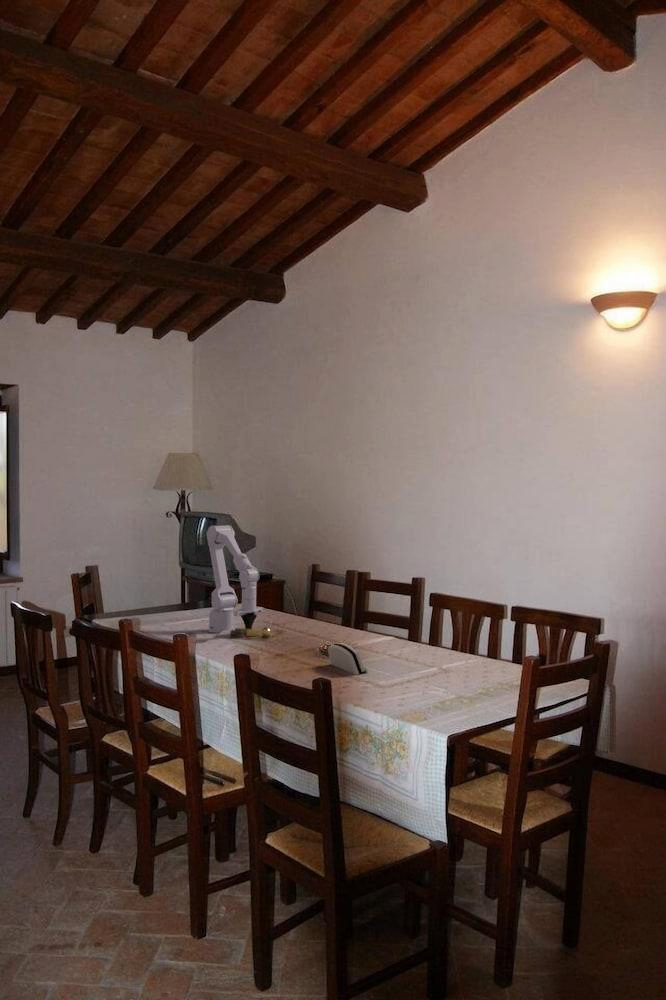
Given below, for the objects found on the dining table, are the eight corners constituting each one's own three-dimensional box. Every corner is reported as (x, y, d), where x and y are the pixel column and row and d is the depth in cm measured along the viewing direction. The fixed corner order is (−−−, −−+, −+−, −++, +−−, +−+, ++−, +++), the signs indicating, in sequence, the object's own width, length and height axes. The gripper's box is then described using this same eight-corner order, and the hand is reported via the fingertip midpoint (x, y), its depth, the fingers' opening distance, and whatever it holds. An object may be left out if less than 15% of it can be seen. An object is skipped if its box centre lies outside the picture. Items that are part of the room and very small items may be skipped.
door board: (225, 641, 327) (226, 632, 327) (242, 630, 350) (242, 621, 350) (273, 644, 324) (273, 635, 324) (286, 633, 347) (286, 624, 347)
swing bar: (271, 635, 332) (271, 627, 332) (268, 637, 329) (268, 628, 329) (237, 633, 335) (237, 625, 335) (234, 634, 332) (234, 626, 332)
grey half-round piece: (368, 673, 283) (361, 646, 281) (357, 679, 281) (349, 652, 279) (342, 662, 298) (335, 637, 295) (331, 668, 295) (324, 642, 293)
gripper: (243, 601, 326) (242, 636, 327) (268, 597, 338) (268, 630, 338) (230, 599, 331) (229, 633, 331) (256, 595, 342) (255, 628, 343)
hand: (248, 632), depth 335 cm, fingers closed
